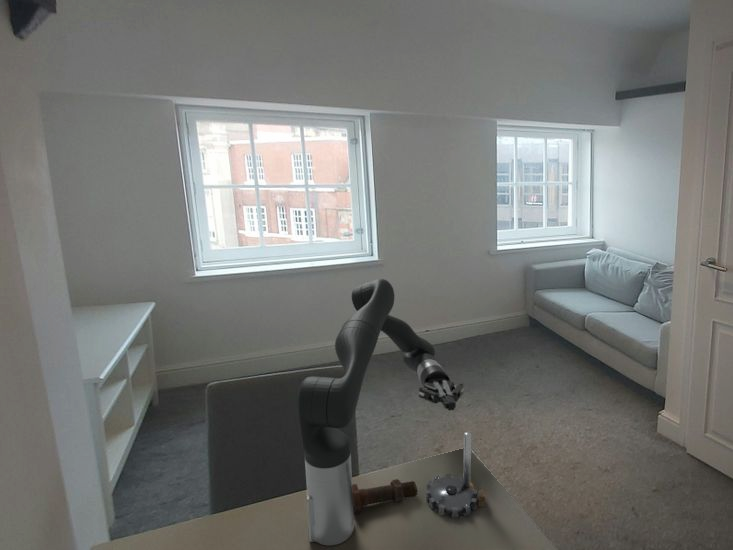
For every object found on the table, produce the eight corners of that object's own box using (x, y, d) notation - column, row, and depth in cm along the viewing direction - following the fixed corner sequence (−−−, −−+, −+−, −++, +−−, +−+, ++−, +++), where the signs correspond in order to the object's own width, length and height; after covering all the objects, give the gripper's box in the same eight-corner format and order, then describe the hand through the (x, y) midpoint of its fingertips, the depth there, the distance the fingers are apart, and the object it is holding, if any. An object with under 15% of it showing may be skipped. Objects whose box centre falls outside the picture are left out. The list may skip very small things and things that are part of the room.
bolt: (416, 505, 95) (352, 516, 92) (410, 482, 99) (348, 493, 96) (421, 494, 92) (354, 506, 88) (414, 471, 95) (350, 481, 92)
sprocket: (446, 525, 87) (446, 461, 84) (416, 491, 97) (415, 433, 94) (488, 505, 92) (489, 444, 89) (455, 475, 102) (455, 420, 99)
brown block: (479, 506, 92) (479, 496, 91) (478, 499, 94) (478, 489, 93) (484, 506, 92) (484, 496, 91) (484, 500, 93) (484, 490, 93)
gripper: (410, 366, 120) (425, 395, 103) (454, 362, 121) (477, 390, 104) (410, 390, 121) (426, 423, 105) (454, 386, 123) (476, 417, 106)
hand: (451, 406), depth 105 cm, fingers closed
